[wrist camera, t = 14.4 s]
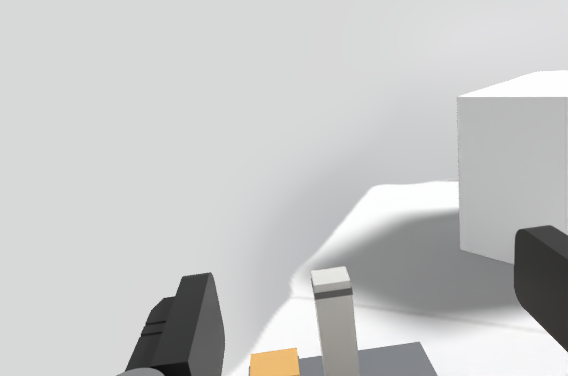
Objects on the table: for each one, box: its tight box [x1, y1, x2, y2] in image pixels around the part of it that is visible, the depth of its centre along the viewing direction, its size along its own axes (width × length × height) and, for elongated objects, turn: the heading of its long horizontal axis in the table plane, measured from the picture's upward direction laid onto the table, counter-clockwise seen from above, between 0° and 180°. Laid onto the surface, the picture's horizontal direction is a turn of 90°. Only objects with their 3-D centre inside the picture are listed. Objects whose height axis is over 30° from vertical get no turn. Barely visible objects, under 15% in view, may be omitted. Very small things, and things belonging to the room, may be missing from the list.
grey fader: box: [311, 266, 360, 376], centre depth 39 cm, size 3×3×12 cm
